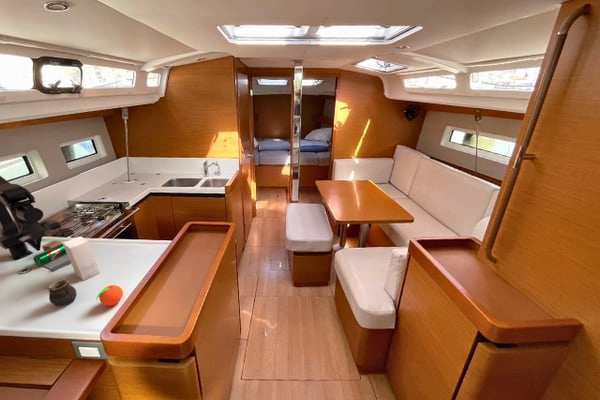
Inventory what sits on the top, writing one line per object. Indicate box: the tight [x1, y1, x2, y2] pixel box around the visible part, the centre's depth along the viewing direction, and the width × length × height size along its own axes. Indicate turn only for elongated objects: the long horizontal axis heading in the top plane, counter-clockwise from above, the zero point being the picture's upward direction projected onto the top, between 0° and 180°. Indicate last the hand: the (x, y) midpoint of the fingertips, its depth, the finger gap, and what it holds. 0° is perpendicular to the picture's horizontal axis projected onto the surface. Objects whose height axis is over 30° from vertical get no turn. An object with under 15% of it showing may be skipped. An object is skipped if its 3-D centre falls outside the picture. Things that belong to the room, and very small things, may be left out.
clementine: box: [96, 284, 124, 307], centre depth 94 cm, size 8×7×7 cm
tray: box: [42, 253, 72, 272], centre depth 121 cm, size 14×13×2 cm
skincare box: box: [62, 235, 101, 281], centre depth 108 cm, size 8×7×16 cm
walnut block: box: [41, 240, 63, 252], centre depth 125 cm, size 5×5×5 cm
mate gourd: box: [44, 279, 77, 307], centre depth 94 cm, size 7×8×10 cm
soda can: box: [32, 244, 66, 267], centre depth 120 cm, size 5×5×12 cm
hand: (38, 250), depth 112 cm, fingers closed
